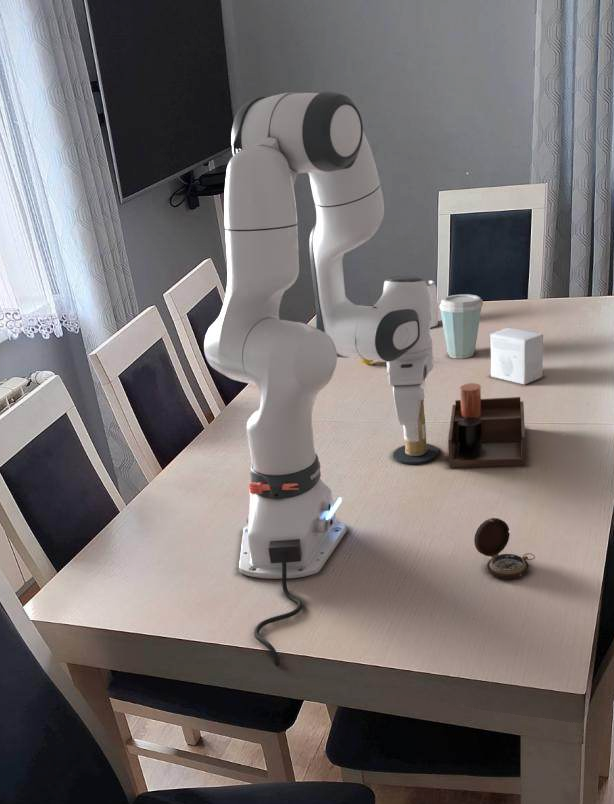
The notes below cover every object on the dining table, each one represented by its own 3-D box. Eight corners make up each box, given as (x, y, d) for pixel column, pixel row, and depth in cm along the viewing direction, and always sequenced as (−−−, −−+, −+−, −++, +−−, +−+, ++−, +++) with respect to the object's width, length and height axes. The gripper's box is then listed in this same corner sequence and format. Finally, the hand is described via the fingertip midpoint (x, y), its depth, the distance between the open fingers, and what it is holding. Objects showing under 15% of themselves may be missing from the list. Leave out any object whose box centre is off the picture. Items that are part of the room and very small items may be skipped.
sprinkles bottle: (432, 451, 176) (428, 388, 169) (415, 459, 174) (411, 395, 167) (416, 445, 179) (412, 383, 172) (399, 453, 177) (395, 390, 171)
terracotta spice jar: (481, 418, 175) (480, 390, 172) (460, 419, 176) (459, 391, 173) (481, 410, 178) (480, 382, 175) (461, 411, 179) (460, 383, 177)
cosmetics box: (543, 376, 202) (544, 332, 197) (524, 385, 199) (524, 341, 194) (508, 368, 210) (508, 325, 205) (489, 376, 207) (489, 333, 202)
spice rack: (525, 465, 165) (525, 431, 162) (449, 468, 169) (448, 435, 166) (523, 428, 180) (523, 396, 176) (453, 431, 184) (452, 400, 180)
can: (415, 330, 247) (412, 287, 241) (415, 323, 252) (412, 281, 246) (438, 327, 245) (436, 285, 239) (438, 321, 251) (436, 279, 245)
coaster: (437, 463, 172) (436, 461, 171) (391, 465, 174) (390, 462, 174) (439, 444, 179) (439, 442, 179) (395, 446, 182) (395, 444, 181)
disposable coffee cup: (451, 346, 230) (449, 289, 222) (490, 349, 224) (490, 290, 216) (434, 360, 223) (431, 302, 215) (473, 363, 217) (472, 303, 209)
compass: (504, 585, 132) (503, 544, 129) (473, 563, 139) (472, 523, 135) (547, 568, 135) (548, 527, 131) (514, 547, 141) (514, 507, 138)
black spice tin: (481, 458, 171) (481, 425, 167) (458, 459, 172) (457, 426, 168) (482, 448, 174) (481, 416, 171) (459, 449, 175) (458, 417, 172)
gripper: (398, 344, 176) (402, 408, 183) (387, 380, 159) (392, 449, 166) (430, 342, 175) (433, 406, 181) (422, 378, 158) (426, 448, 164)
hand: (413, 427), depth 174 cm, fingers open, 8 cm apart
